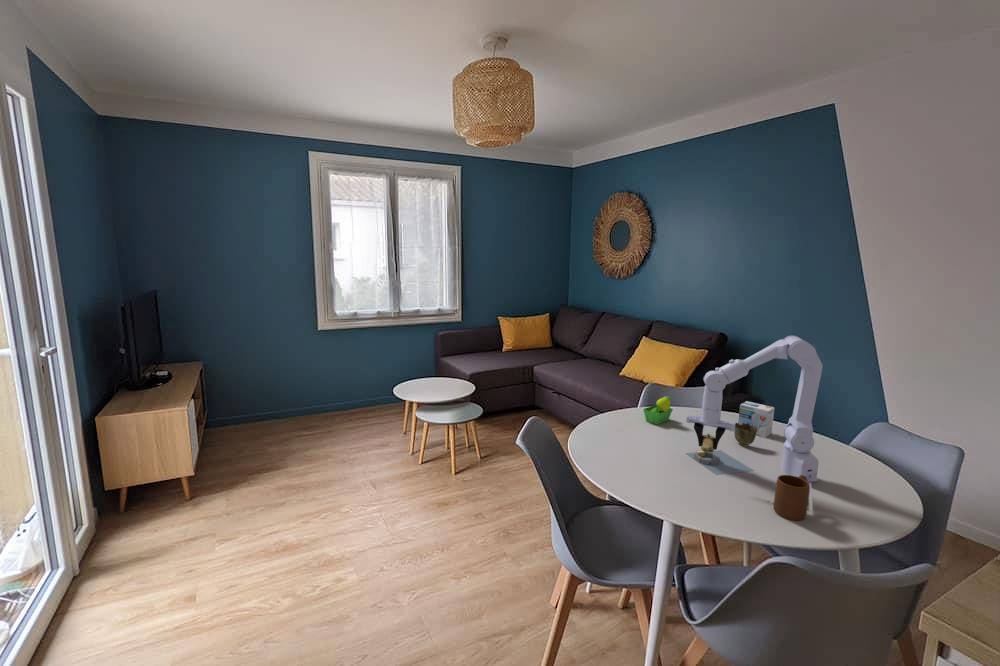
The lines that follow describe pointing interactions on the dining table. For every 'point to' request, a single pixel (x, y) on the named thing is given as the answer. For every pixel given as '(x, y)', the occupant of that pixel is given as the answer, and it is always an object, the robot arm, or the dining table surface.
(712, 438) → the knob
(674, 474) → the dining table surface
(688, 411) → the dining table surface
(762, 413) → the light bulb box
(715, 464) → the blue-grey flat slab
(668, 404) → the fruit basket
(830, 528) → the dining table surface
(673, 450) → the dining table surface
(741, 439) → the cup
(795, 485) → the mug
